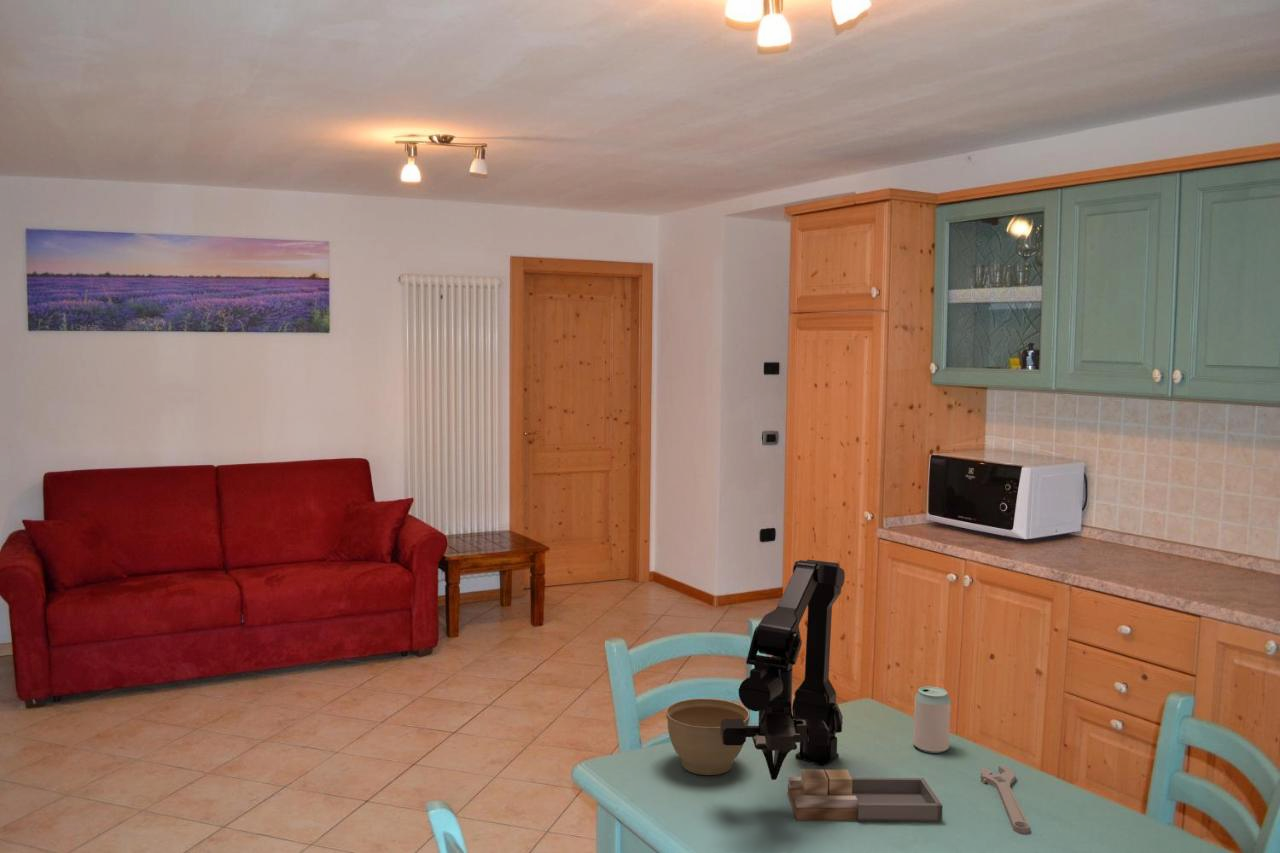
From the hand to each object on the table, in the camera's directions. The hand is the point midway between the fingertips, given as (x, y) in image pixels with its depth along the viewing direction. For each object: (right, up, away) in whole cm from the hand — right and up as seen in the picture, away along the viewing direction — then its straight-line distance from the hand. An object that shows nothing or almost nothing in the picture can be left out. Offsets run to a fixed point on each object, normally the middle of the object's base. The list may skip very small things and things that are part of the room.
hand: (773, 778), depth 177 cm
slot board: (+9, -5, 0) cm, 10 cm away
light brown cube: (+12, -3, 0) cm, 12 cm away
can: (+36, -4, +28) cm, 46 cm away
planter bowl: (-11, -4, +17) cm, 21 cm away
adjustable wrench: (+42, -6, +4) cm, 43 cm away
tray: (+21, -5, +1) cm, 22 cm away
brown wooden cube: (+7, -3, 0) cm, 8 cm away
